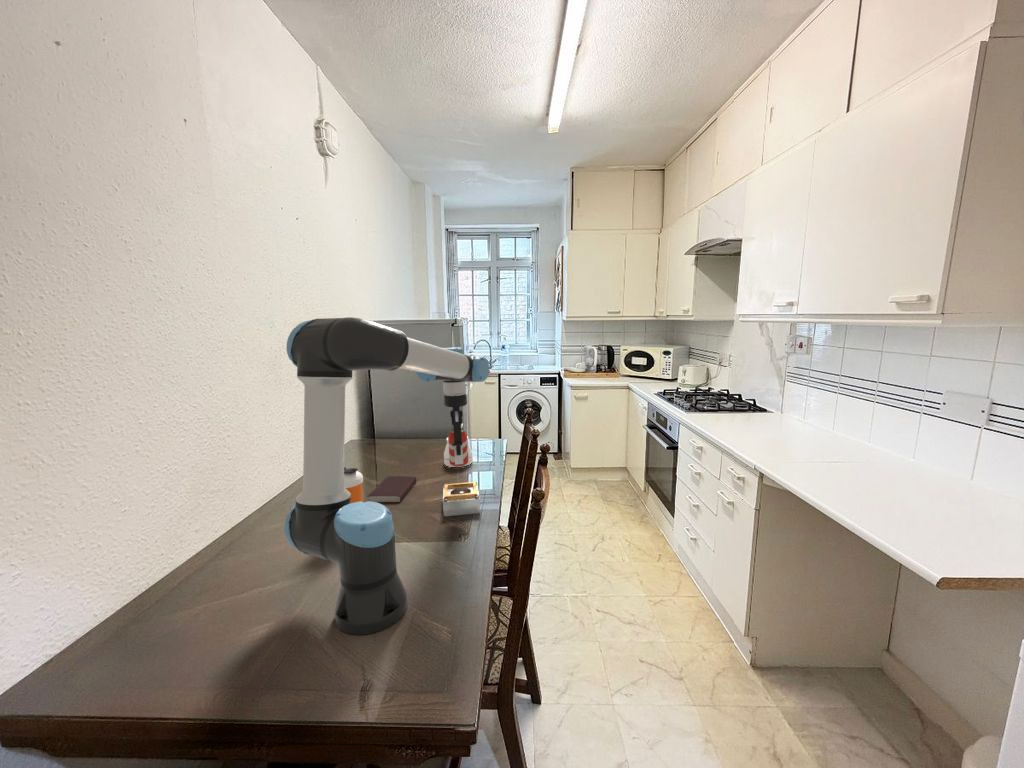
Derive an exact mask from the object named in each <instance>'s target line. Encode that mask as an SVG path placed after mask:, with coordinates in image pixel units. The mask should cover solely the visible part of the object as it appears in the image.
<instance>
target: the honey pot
mask: <svg viewBox="0 0 1024 768" xmlns="http://www.w3.org/2000/svg"><path fill="white" fill-rule="evenodd" d="M463 427H464V423H462V424H461V429H463ZM445 440H446V445H445V449H444V451H443V463H444V464H445V465H446V466H449V467H448V468H450V467H455V466H453V465H451V464H450V460H449V444H448V437H446V439H445ZM468 440H469V436H468V435H467V443H468V463H467V464H466V465H469V464H471V463H472V462H474V458H473V450H472V449H471V446H470V443H469V441H468ZM444 464H443V465H444ZM472 464H473V463H472ZM472 464H471V465H472ZM445 465H444V466H445ZM466 465H465V466H466ZM446 466H445V467H446ZM469 466H470V465H469Z"/></svg>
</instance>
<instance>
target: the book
mask: <svg viewBox="0 0 1024 768" xmlns="http://www.w3.org/2000/svg"><path fill="white" fill-rule="evenodd" d="M416 484H417V477H416V476H410V475H409V476H407V475H406V476H403V475H390V476H389V475H388V476H385V478H384V479H383V480H382V481H380V483H379V484H378V485H377V486H376V487H374V489H373V490H371V492H370V493H369V494H368V495H367V498H368V501H370V502H376V503H398V502H399V503H401V502H402V500H403V499H404V498H405V497H406V496H407V494H408V493H409V490H410V491H411V489H412V488H413V487H414V486H415V485H416ZM413 485H414V486H413ZM412 486H413V487H412Z"/></svg>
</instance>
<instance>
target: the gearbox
mask: <svg viewBox="0 0 1024 768" xmlns="http://www.w3.org/2000/svg"><path fill="white" fill-rule="evenodd" d="M442 488H443V491H442V492H443V493H442V509H443V517H453V516H462V515H463V516H464V515H473V514H475V515H476V514H481V504H480V503H481V501H480V493H479V488H478V483H477V481H469V482H459V483H458V482H456V483H445V484H444V485H443V487H442Z"/></svg>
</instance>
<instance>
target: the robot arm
mask: <svg viewBox="0 0 1024 768" xmlns="http://www.w3.org/2000/svg"><path fill="white" fill-rule="evenodd" d="M286 353H287V357H288V358H289V360H290V361H291V362H292V364H293V365H294V366H295V367H296V372H297V373H296V379H298V380H299V381H300V382H301V383H302V384H303V385H304V391H303V392H304V398H303V399H304V402H303V403H304V404H303V406H304V407H303V409H304V411H303V466H302V467H303V473H302V474H303V475H302V476H303V477H302V481H303V482H302V484H303V486H302V487H303V488H302V491H301V492H300V493H299V494H298V495H297V496H296V498H295V504H294V505H293V506H292V507H291V509H290V512H289V513H287V514H286V516H285V517H286V518H285V521H284V528H283V529H284V535H285V539H286V540H287V542H288V544H290V546H291V547H293V548H294V549H296V550H297V551H299V552H300V553H303V554H305V555H308V556H313V557H317V558H319V559H322V560H326V561H329V562H332V563H334V564H337V565H338V568H339V576H340V577H339V578H340V579H339V580H340V589H339V591H338V595H337V600H336V603H335V608H334V617H335V619H334V620H335V624H336V627H337V628H338V629H339V630H340V631H342V632H343V633H346V634H349V635H353V636H354V635H356V636H361V635H363V636H364V635H369V634H374V633H377V632H380V631H383V630H385V629H387V628H389V627H390V626H393V625H394V624H395V623H397V622H398V621H399V620H400V619H401V618H403V616H404V614H405V612H406V610H407V609H408V594H407V590H406V588H405V586H404V584H403V582H402V579H401V577H400V576H399V573H398V568H397V556H396V555H397V554H396V539H395V524H394V522H393V521H394V520H393V515H392V512H391V511H390V509H389V508H388V507H387V506H385V505H384V504H382V503H381V502H370V501H369V500H367V501H366V502H364V501H363V502H362V501H361V502H355V503H351V494H350V492H349V491H348V490H347V489H345V488H344V467H345V434H346V430H345V429H346V428H345V427H346V423H345V421H346V386H347V384H348V383H350V381H352V380H353V371H367V370H382V371H383V370H384V371H389V372H394V371H397V370H399V369H400V370H401V369H402V370H408V371H413V372H415V374H416V377H417V378H418V379H419V380H420V381H422V382H424V383H428V382H429V383H432V382H435V381H440V382H441V381H442V386H443V387H442V388H443V394H444V396H443V402H444V406H445V407H447V408H452V409H451V410H450V411H449V412H450V414H449V415H450V418H451V425H452V427H453V429H454V444H452V446H454V453H455V465H456V464H463V448H462V435H461V429H462V428H461V424H463V410H462V409H460V407H465V406H467V404H468V398H467V397H468V396H467V394H466V393H467V387H469V384H468V383H471V382H472V383H480V382H481V383H482V382H485V381H486V380H487V379H488V377H489V374H490V364H489V361H488V359H487V358H486V357H484V356H480V355H479V356H478V355H467V354H465V350H464V349H463V347H460V346H459V347H457V346H456V347H440V346H437V345H435V344H431V343H428V342H423V341H420V340H417V339H414V338H411V337H408V336H407V335H406V334H405V333H404V332H403V331H401V330H399V329H395V328H393V327H390V326H386V325H383V324H380V323H377V322H375V321H371V320H368V319H364V318H360V317H354V316H351V317H331V318H330V317H328V318H327V317H326V318H325V317H324V318H313V319H309V320H305V321H303V322H299V324H297V325H296V326H295V327H294V328H293V329H292V330H291V332H290V333H289V335H288V337H287V341H286ZM467 382H468V383H467ZM457 441H458V442H457ZM350 503H351V504H350Z"/></svg>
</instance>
